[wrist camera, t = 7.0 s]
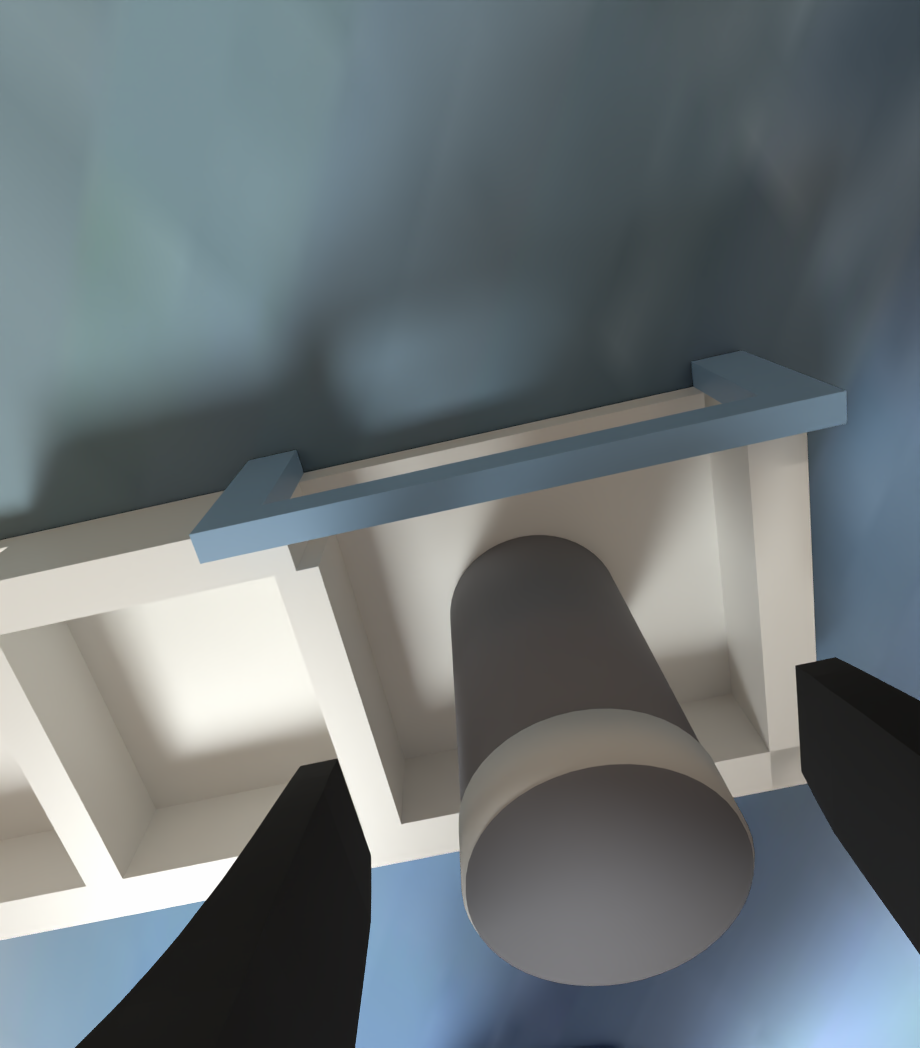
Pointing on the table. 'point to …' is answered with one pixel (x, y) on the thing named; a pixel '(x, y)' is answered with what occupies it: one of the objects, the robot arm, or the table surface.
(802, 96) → the table surface
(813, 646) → the compartment tray
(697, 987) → the table surface
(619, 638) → the plug
